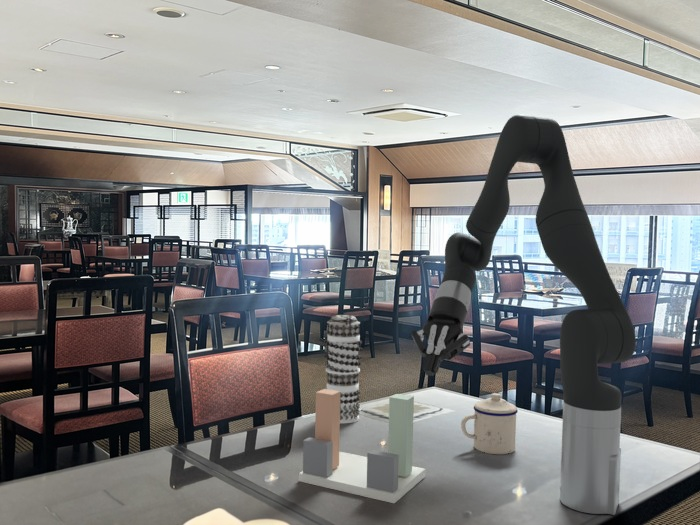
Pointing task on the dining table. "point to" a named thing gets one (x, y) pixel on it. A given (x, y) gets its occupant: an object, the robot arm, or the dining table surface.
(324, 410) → the terracotta tab
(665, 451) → the dining table surface
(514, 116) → the robot arm
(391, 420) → the sage tab
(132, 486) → the dining table surface
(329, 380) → the decorative candle
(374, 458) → the twin block stand
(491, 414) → the teacup with lid
